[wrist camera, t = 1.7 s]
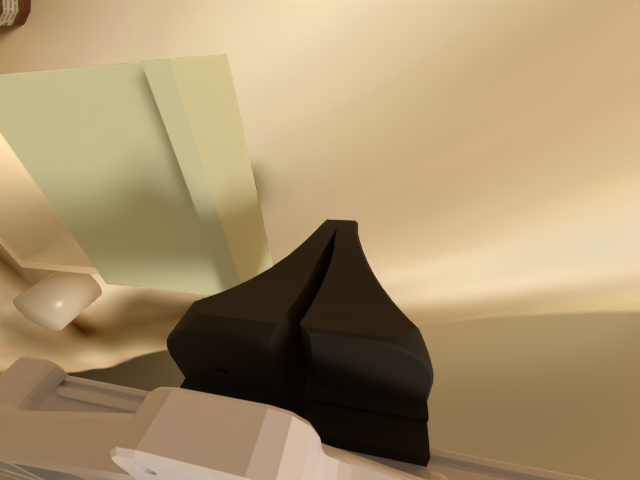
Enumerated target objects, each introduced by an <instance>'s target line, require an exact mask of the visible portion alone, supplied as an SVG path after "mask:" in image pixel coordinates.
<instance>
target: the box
mask: <svg viewBox="0 0 640 480" xmlns="http://www.w3.org/2000/svg"><path fill="white" fill-rule="evenodd" d="M0 244H1V245H2V246H3V248H4V249H5V250H6V251H7V252H8V253H9V254H10V255H11V256H12V258H13V259H14V260H15V261H16V262H17V263H18V264H19V265H20V266H21V267H24V268H34V269H44V270H54V271H64V272H74V273H84V274H94V275H100V274H99V272H98V271H97V270H96V268H95V267H94V265H93V264H92V262H91V261H90V260H89V258H88V257H87V255H86V254H85V252H84V251H83V250H82V248H81V247H80V245H79V244H78V242H77V241H76V240H75V238H74V237H73V235H72V234H71V232H70V231H69V230H68V228H67V227H66V225H65V224H64V223H63V221H62V220H61V218H60V217H59V215H58V214H57V213H56V211H55V210H54V208H53V207H52V205H51V204H50V203H49V201H48V200H47V198H46V197H45V195H44V194H43V193H42V191H41V190H40V188H39V187H38V185H37V184H36V183H35V181H34V180H33V178H32V177H31V175H30V174H29V173H28V171H27V170H26V168H25V167H24V166H23V164H22V163H21V161H20V160H19V158H18V157H17V156H16V154H15V153H14V151H13V150H12V148H11V147H10V146H9V144H8V143H7V141H6V140H5V138H4V137H3V136H2V134H1V133H0Z"/></svg>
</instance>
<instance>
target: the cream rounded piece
mask: <svg viewBox="0 0 640 480" xmlns="http://www.w3.org/2000/svg"><path fill="white" fill-rule="evenodd" d="M101 293H102V291H101V287H100V286H99V284H98V283H97V282H96V280H95V279H94V278H92V277H91V276H90V275H89V274H84V273H74V272H64V271H54V272H53V273H51V274H50V275H48V276H47V277H45V278H44V279H42V280H41V281H39V282H38V283H37V284H35V285H34V286H32V287H31V288H29V289H28V290H26V291H25V292H23V293H22V294H21V295H19V296H18V297H16V298H15V299H14V305H15V306H16V308H17V309H18V310H19V311H20V312H21V313H22V314H23V315H24V316H26V317H27V318H28V319H30V320H31V321H33V322H35V323H36V324H38V325H40V326H43V327H45V328H48V329H51V330H62V329H63V328H64V327H65V326H66V325H67V324H68V323H70V322H71V321H72V320H73V319H74V318H75V317H76V316H78V315H79V314H80V313H81V312H82V311H83V310H84V309H85V308H87V307H88V306H89V305H90V304H91V303H92V302H93V301H95V300H96V299H97V298H98V297H99V296H100V295H101Z"/></svg>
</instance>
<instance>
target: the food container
mask: <svg viewBox="0 0 640 480" xmlns="http://www.w3.org/2000/svg"><path fill="white" fill-rule="evenodd" d="M30 9H31V0H0V26H8V25H24V24H25V21H26V19H27V17H28V15H29V13H30Z"/></svg>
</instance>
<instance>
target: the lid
mask: <svg viewBox="0 0 640 480" xmlns="http://www.w3.org/2000/svg"><path fill="white" fill-rule="evenodd" d="M0 133H1V134H2V136H3V137H4V138H5V140H6V141H7V143H8V144H9V146H10V147H11V148H12V150H13V151H14V153H15V154H16V156H17V157H18V158H19V160H20V161H21V163H22V164H23V166H24V167H25V168H26V170H27V171H28V173H29V174H30V175H31V177H32V178H33V180H34V181H35V183H36V184H37V185H38V187H39V188H40V190H41V191H42V193H43V194H44V195H45V197H46V198H47V200H48V201H49V203H50V204H51V205H52V207H53V208H54V210H55V211H56V213H57V214H58V215H59V217H60V218H61V220H62V221H63V223H64V224H65V225H66V227H67V228H68V230H69V231H70V232H71V234H72V235H73V237H74V238H75V240H76V241H77V242H78V244H79V245H80V247H81V248H82V250H83V251H84V252H85V254H86V255H87V257H88V258H89V260H90V261H91V262H92V264H93V265H94V267H95V268H96V270H97V271H98V272H99V274H100V275H101V277H102V278H103V280H104V281H105V282H106V284H112V285H121V286H131V287H140V288H149V289H159V290H168V291H178V292H187V293H196V294H206V295H215V294H218V293H220V292H223V291H225V290H228V289H230V288H232V287H235V286H237V285H239V284H241V283H243V282H246V281H248V280H250V279H252V278H253V277H255V276H257V275H259V274H260V273H262V272H264V271H266V270H268V269H269V268H271V267H273V263H272V259H271V254H270V250H269V245H268V240H267V236H266V231H265V227H264V222H263V218H262V213H261V208H260V204H259V199H258V195H257V190H256V186H255V181H254V177H253V172H252V167H251V163H250V158H249V154H248V149H247V145H246V140H245V135H244V131H243V126H242V122H241V117H240V113H239V108H238V104H237V99H236V94H235V90H234V85H233V81H232V76H231V72H230V67H229V62H228V58H227V54H225V55H211V56H197V57H183V58H169V59H158V60H146V61H141V62H133V63H122V64H111V65H100V66H88V67H77V68H66V69H55V70H43V71H32V72H21V73H10V74H0Z"/></svg>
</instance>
